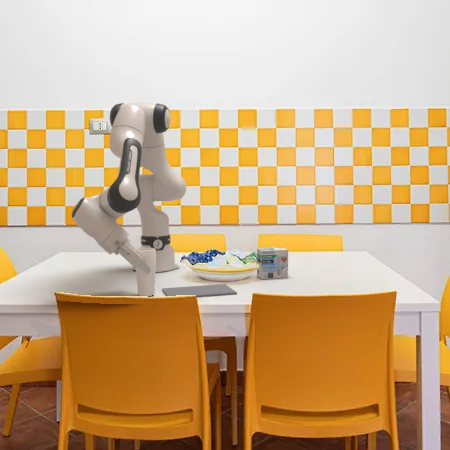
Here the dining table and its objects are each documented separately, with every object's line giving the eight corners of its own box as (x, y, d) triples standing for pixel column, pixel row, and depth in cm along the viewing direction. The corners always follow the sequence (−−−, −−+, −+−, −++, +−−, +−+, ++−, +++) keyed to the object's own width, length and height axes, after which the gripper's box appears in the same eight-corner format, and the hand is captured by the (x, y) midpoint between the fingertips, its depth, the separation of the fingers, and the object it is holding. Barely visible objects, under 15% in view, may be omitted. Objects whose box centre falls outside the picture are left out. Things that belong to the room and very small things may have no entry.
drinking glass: (141, 298, 163) (140, 251, 161) (132, 295, 168) (130, 248, 167) (160, 295, 167) (159, 249, 165) (150, 292, 172) (149, 247, 171)
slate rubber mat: (162, 290, 175) (161, 288, 175) (225, 285, 181) (225, 283, 181) (169, 299, 161) (169, 297, 161) (236, 294, 167) (236, 292, 167)
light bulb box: (261, 279, 191) (260, 250, 190) (256, 276, 197) (256, 248, 196) (289, 278, 193) (288, 249, 192) (283, 274, 199) (283, 246, 198)
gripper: (125, 236, 154) (159, 267, 157) (119, 230, 173) (150, 257, 177) (110, 252, 153) (144, 282, 156) (106, 243, 173) (137, 271, 176)
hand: (147, 269), depth 167 cm, fingers open, 7 cm apart
